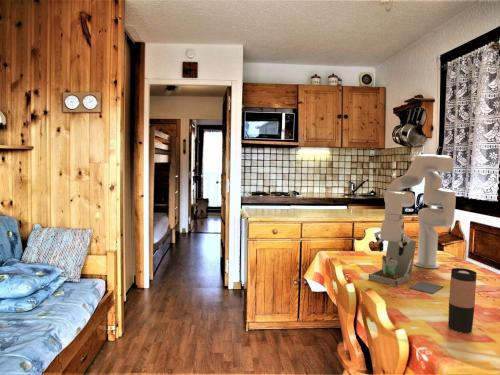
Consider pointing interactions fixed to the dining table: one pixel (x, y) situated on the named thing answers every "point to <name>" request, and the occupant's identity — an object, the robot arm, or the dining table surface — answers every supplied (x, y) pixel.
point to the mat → (426, 287)
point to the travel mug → (462, 300)
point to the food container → (388, 267)
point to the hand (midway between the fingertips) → (390, 253)
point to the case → (403, 262)
